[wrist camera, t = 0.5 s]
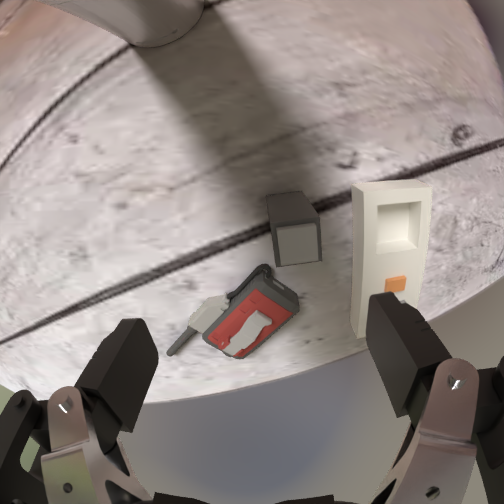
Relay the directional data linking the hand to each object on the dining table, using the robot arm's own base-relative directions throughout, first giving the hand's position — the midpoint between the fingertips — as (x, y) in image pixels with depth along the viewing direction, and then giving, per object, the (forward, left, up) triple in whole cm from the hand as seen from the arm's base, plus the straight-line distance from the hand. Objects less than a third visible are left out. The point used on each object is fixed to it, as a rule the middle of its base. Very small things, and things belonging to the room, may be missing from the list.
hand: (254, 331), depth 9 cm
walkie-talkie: (+16, -6, -20) cm, 26 cm away
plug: (+2, +3, -19) cm, 20 cm away
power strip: (+9, +14, -19) cm, 25 cm away
